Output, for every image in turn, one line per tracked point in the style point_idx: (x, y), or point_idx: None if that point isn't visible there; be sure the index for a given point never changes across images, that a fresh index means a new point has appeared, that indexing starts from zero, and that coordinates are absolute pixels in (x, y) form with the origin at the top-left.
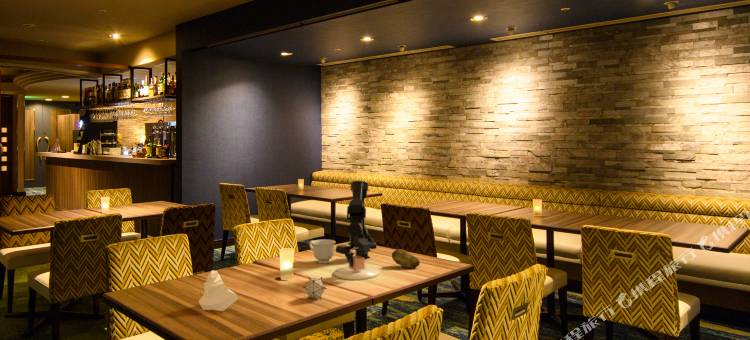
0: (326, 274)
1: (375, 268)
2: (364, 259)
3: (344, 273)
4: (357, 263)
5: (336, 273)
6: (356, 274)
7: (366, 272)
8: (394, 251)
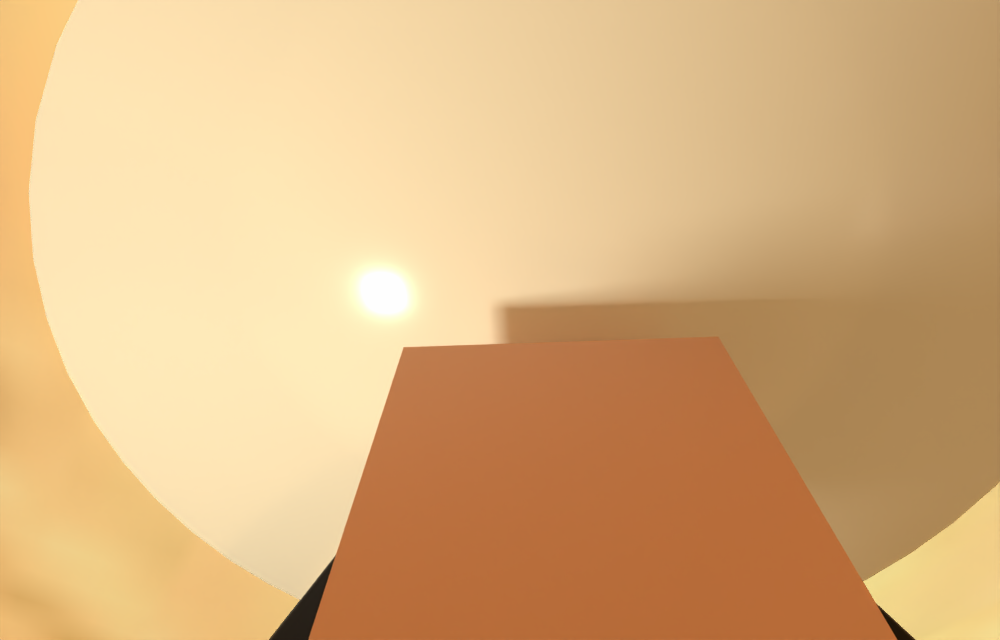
0: (931, 573)
1: (83, 369)
2: (322, 596)
3: (874, 410)
4: (694, 488)
5: (972, 483)
6: (759, 190)
7: (422, 203)
8: None
